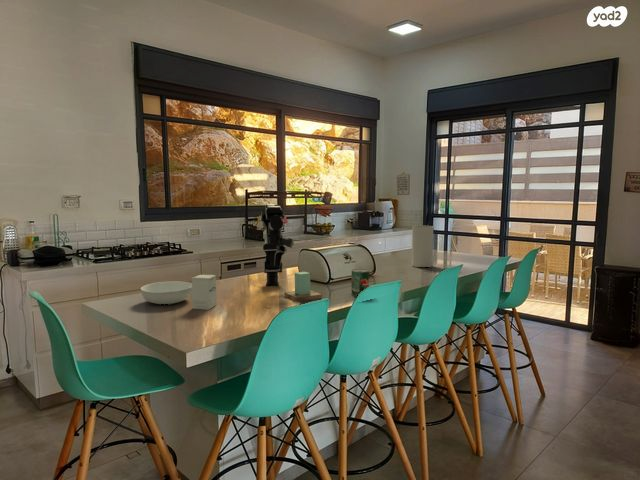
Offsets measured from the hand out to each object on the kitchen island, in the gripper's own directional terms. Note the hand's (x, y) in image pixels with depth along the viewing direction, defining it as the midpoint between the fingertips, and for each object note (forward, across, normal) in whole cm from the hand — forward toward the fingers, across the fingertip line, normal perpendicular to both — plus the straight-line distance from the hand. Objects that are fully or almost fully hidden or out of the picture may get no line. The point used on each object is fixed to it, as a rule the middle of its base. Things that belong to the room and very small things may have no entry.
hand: (275, 266), depth 205 cm
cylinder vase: (+1, +86, -70) cm, 110 cm away
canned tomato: (+14, +5, -38) cm, 40 cm away
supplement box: (+16, -28, +22) cm, 39 cm away
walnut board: (+15, -6, -13) cm, 21 cm away
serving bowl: (+14, -23, +41) cm, 49 cm away
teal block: (+12, -6, -13) cm, 19 cm away
